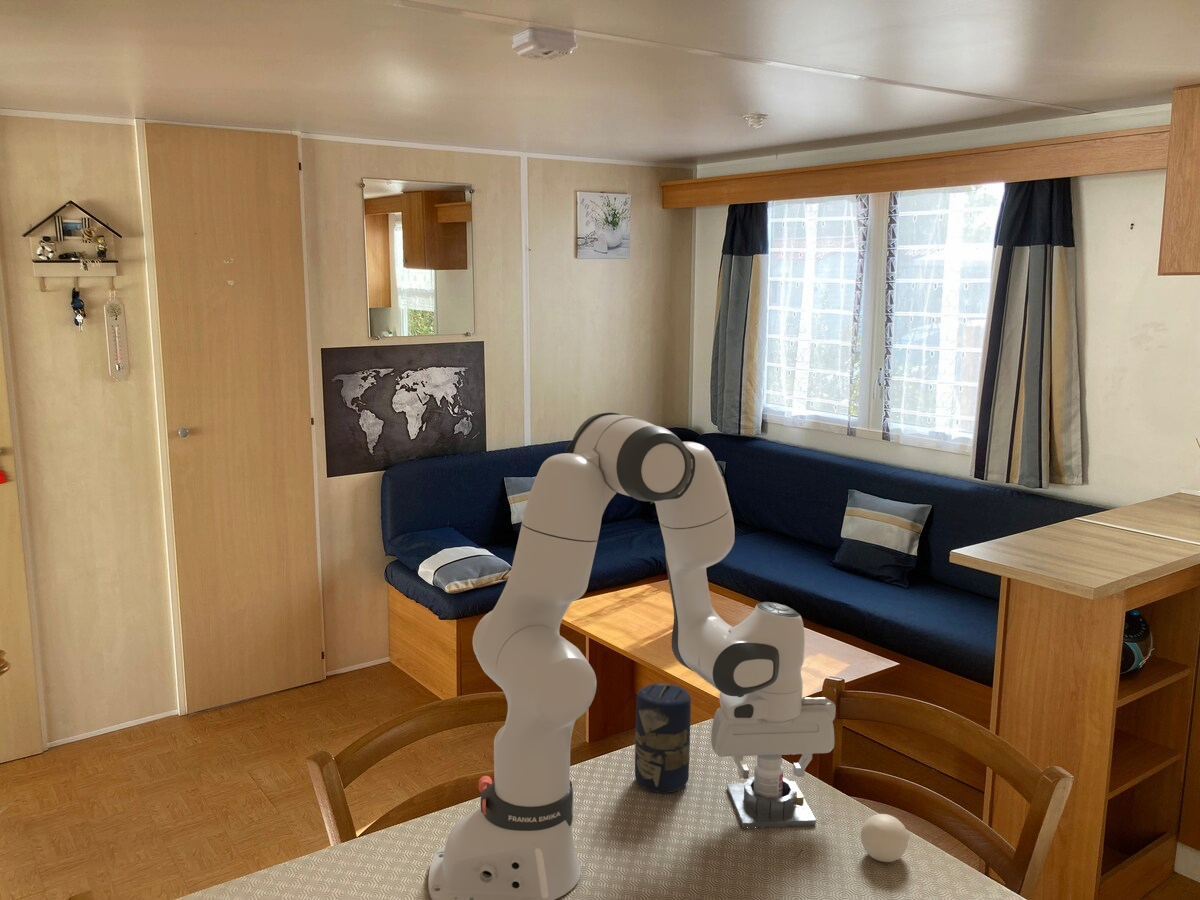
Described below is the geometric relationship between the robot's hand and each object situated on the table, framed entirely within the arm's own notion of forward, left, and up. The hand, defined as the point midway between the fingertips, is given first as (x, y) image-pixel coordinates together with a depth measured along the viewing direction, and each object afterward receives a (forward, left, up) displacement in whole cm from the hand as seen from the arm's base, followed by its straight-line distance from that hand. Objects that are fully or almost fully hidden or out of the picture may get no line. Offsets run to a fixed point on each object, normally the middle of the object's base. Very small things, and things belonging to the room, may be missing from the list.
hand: (771, 776), depth 161 cm
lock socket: (0, 0, -6) cm, 6 cm away
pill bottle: (0, 0, -5) cm, 5 cm away
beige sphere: (+14, -15, -6) cm, 21 cm away
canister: (-17, +9, -6) cm, 20 cm away
